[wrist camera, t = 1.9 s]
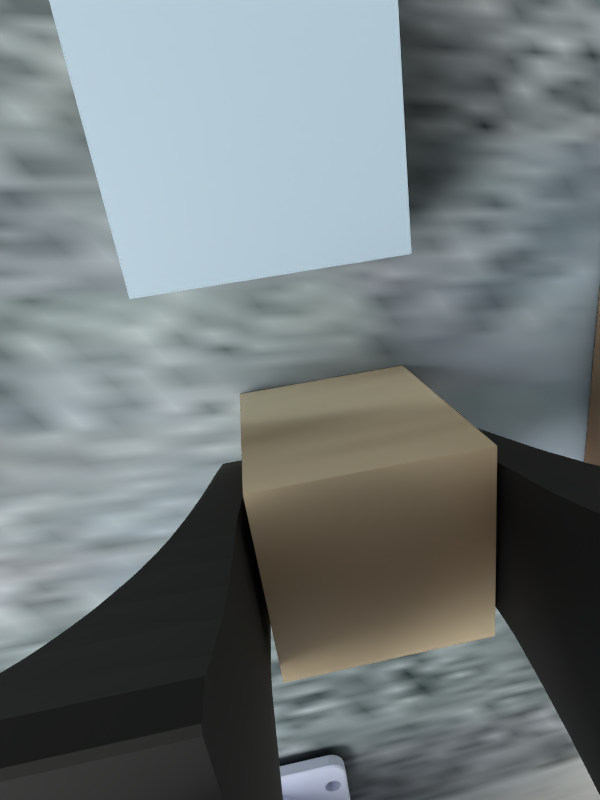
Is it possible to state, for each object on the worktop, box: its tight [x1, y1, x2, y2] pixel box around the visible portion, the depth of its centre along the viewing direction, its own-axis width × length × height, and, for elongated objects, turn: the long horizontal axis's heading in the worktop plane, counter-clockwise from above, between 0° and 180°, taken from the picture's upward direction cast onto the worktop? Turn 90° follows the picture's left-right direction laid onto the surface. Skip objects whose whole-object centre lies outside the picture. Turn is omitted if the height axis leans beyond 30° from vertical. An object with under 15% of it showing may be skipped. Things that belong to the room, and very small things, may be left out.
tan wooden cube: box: [240, 365, 497, 683], centre depth 10 cm, size 4×4×4 cm
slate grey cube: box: [49, 0, 411, 299], centre depth 8 cm, size 4×4×4 cm
